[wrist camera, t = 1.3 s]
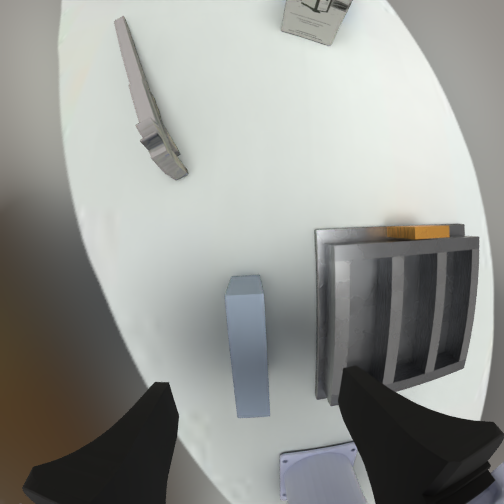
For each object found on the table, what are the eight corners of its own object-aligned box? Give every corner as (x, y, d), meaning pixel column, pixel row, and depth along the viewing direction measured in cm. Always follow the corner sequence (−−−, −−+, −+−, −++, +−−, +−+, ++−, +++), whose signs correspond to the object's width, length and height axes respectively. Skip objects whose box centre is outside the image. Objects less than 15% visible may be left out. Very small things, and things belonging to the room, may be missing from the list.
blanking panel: (264, 371, 21) (270, 416, 15) (240, 373, 21) (237, 417, 15) (259, 274, 20) (263, 293, 14) (231, 276, 20) (224, 295, 14)
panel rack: (448, 363, 21) (473, 382, 16) (315, 396, 21) (327, 428, 16) (460, 224, 20) (493, 224, 15) (314, 229, 20) (333, 230, 15)
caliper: (191, 175, 20) (166, 153, 13) (177, 182, 20) (147, 163, 13) (125, 18, 18) (103, -17, 12) (116, 23, 18) (92, -11, 12)
